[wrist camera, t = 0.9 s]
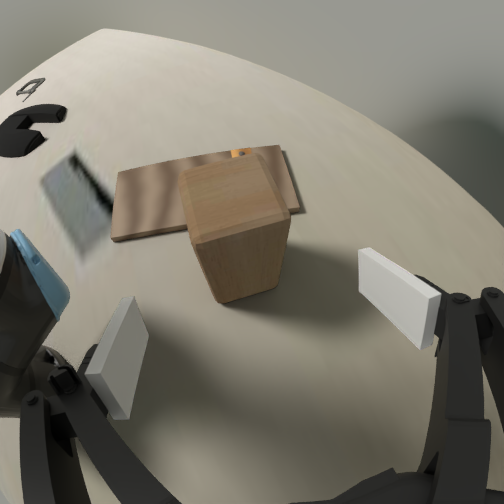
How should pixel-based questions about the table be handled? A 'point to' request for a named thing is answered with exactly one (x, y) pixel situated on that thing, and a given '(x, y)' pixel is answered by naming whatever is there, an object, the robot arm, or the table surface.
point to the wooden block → (236, 224)
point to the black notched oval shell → (18, 136)
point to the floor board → (177, 192)
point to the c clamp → (38, 81)
